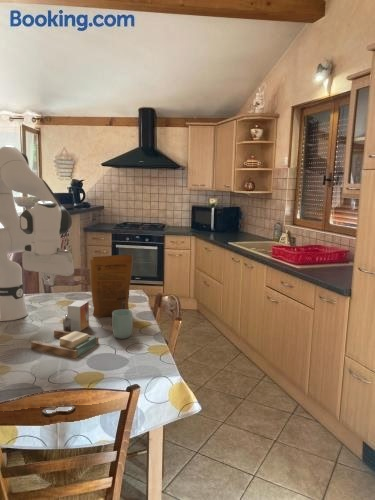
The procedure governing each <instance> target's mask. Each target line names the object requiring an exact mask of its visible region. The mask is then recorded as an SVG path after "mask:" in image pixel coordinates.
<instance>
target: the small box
mask: <svg viewBox="0 0 375 500" xmlns="http://www.w3.org/2000/svg"><path fill="white" fill-rule="evenodd" d="M89 303H90V302H89V301H86V300H75V301H73V302H72V303H70V304H68V305H67V314H68V318H69V319H71V331H73V332H74V331H78V332H82V331H83V330H84V329H86V328H88V327H89V325H90V314H89V312H90V307H89V305H90V304H89Z"/></svg>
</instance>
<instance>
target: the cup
mask: <svg viewBox="0 0 375 500" xmlns="http://www.w3.org/2000/svg"><path fill="white" fill-rule="evenodd" d="M133 316H134V315H133V311H132V310H131V309H129V310H127V309H120V310H115V311H113V313H112V316H111V317H112V318H111V320H112V321H111V325H112V326H111V327H112V333H113V335H114V337H115V338H117V339H121V340H122V339H123V340H125V339H128V338H130V336H131V335H132V332H133Z"/></svg>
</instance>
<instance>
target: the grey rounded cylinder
mask: <svg viewBox="0 0 375 500" xmlns="http://www.w3.org/2000/svg"><path fill="white" fill-rule="evenodd" d="M64 315H65V318H64V319H63V320H62V324H63V326H62V328H63V329H62V330H64V331H69V332H74V331H71V319H69V318H68V313H67V314H64Z"/></svg>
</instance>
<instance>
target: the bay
mask: <svg viewBox="0 0 375 500" xmlns="http://www.w3.org/2000/svg"><path fill="white" fill-rule="evenodd" d="M70 333H72V332H69V331H64V330H63V329H57V328H56V329H54V330H53V337H55V338H59V339H60V338H61V337H63V336H66V335H68V334H70ZM98 344H99V336H95V335H90V334H88V340H86V341H84V342H83V343H81V344H79V345H78V346H76V347H74V349H72V348H67V347H62V346H60V345H56V344H52V343H48V342H43V341H37V340H32V341H31V342H30V349H31V350H35V351H38V352H39V351H40V352H45V353H48V354H54V355H57V356H63V357H68V358H72V359H76V358H78V357H80V356H81V355H83V354H84V353H87V351H89V350H91V349H92V348H94V346H96V345H98Z"/></svg>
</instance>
